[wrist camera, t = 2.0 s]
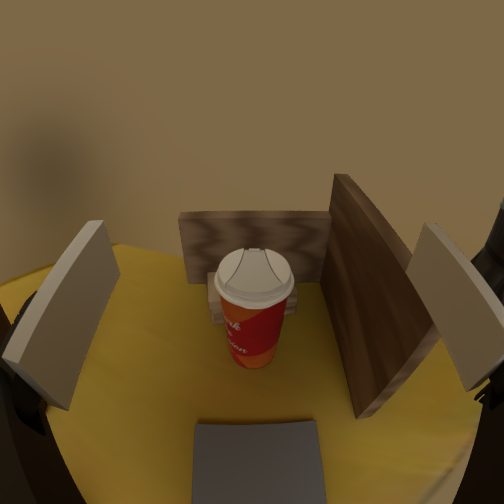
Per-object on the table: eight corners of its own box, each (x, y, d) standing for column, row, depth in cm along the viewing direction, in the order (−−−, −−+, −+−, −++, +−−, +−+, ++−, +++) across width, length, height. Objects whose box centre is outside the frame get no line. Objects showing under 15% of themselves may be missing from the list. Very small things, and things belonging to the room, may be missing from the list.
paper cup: (225, 327, 37) (217, 243, 29) (280, 328, 37) (291, 244, 29) (220, 376, 31) (208, 297, 23) (284, 377, 31) (300, 298, 23)
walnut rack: (328, 273, 47) (347, 174, 36) (371, 416, 26) (453, 318, 15) (190, 275, 46) (175, 173, 35) (165, 426, 25) (97, 333, 14)
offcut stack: (284, 284, 45) (286, 263, 42) (297, 315, 40) (301, 294, 37) (207, 294, 43) (204, 272, 40) (211, 328, 38) (208, 306, 35)
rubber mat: (314, 422, 26) (315, 420, 26) (326, 524, 16) (328, 524, 15) (196, 425, 26) (195, 423, 25) (192, 530, 15) (191, 530, 15)
